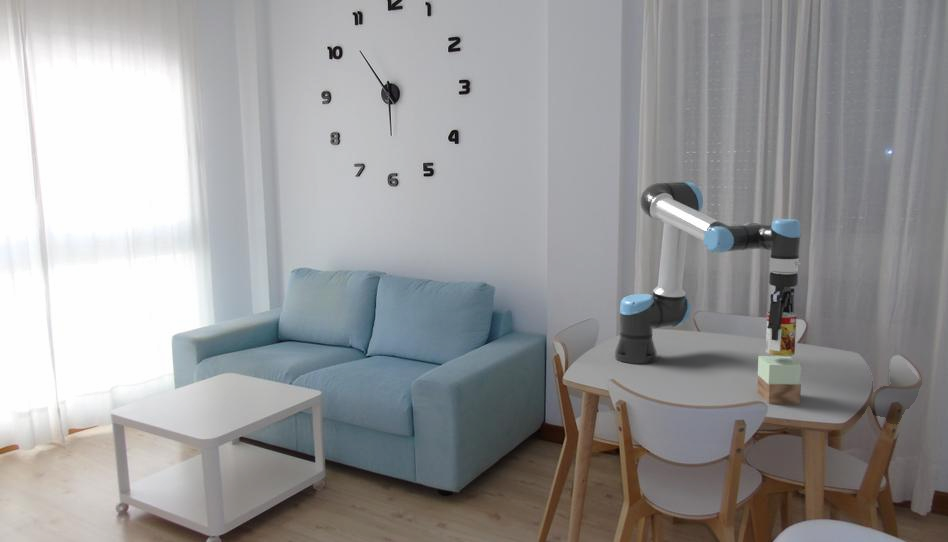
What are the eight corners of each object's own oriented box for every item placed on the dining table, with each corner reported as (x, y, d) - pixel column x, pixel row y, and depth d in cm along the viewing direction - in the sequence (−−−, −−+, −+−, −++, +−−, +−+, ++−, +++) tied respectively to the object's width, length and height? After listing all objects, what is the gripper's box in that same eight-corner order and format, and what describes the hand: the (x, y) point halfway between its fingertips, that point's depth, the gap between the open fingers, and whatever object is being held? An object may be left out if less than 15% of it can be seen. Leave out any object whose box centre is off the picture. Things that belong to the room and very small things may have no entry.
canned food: (798, 356, 188) (800, 316, 186) (769, 356, 189) (771, 316, 187) (789, 349, 196) (791, 310, 194) (762, 348, 197) (764, 310, 195)
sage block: (768, 384, 190) (769, 364, 189) (757, 374, 199) (758, 356, 198) (800, 384, 189) (801, 364, 188) (787, 374, 198) (788, 356, 197)
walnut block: (768, 404, 191) (769, 384, 190) (757, 393, 199) (758, 375, 199) (799, 404, 190) (800, 384, 189) (787, 393, 199) (788, 375, 198)
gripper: (785, 278, 179) (781, 357, 182) (808, 268, 194) (804, 341, 197) (757, 275, 184) (754, 352, 187) (782, 266, 199) (778, 338, 202)
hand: (779, 347), depth 192 cm, fingers closed on canned food, 8 cm apart
